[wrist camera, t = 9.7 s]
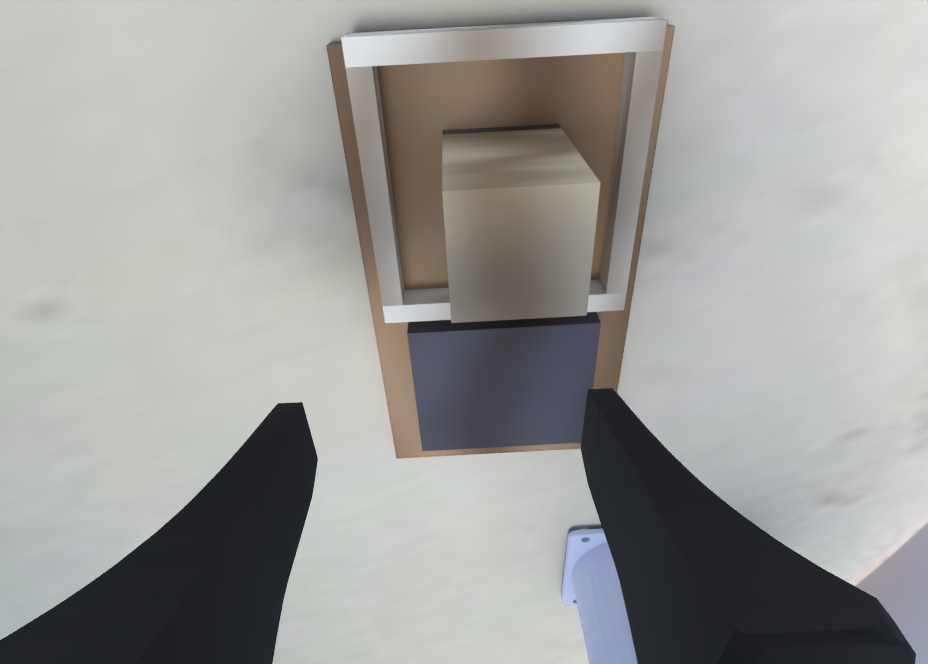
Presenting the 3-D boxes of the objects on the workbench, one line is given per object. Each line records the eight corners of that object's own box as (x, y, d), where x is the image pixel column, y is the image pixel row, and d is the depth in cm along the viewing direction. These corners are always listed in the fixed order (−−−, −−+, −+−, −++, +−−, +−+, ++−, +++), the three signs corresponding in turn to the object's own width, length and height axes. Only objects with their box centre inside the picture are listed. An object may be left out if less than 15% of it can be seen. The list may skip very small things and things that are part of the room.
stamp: (558, 123, 18) (600, 182, 13) (552, 231, 21) (586, 315, 16) (442, 130, 18) (441, 191, 13) (449, 237, 21) (451, 323, 16)
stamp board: (670, 13, 17) (691, 18, 16) (605, 438, 28) (614, 465, 27) (328, 32, 17) (316, 39, 16) (397, 449, 28) (394, 476, 27)
